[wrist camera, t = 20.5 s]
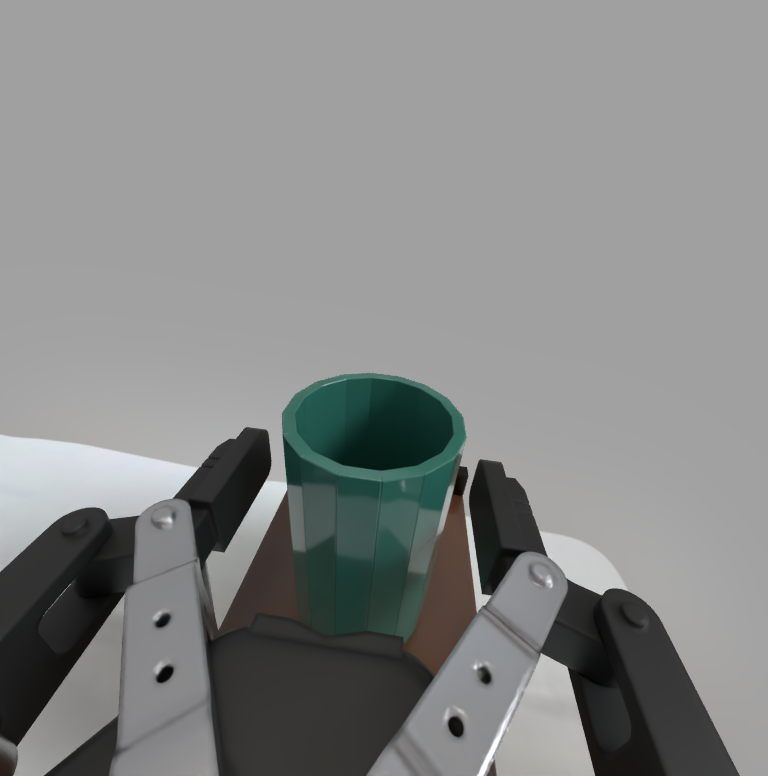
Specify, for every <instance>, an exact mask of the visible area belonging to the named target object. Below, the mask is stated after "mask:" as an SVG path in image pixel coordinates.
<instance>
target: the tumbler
mask: <svg viewBox="0 0 768 776" xmlns="http://www.w3.org/2000/svg"><path fill="white" fill-rule="evenodd" d="M282 427H283V428H282V429H283V444H284V454H285V455H284V456H285V467H286V479H287V490H288V502H289V514H290V525H291V537H292V548H293V560H294V571H295V583H296V595H297V606H298V612H299V616H300V619H301V623H302V624H304V625H306V626H308V627H310V628H312V629H314V630H316V631H318V632H320V633H322V634H324V635H328V636H329V635H338V634H346V633H353V632H361V631H372V632H378V633H384V634H390V635H396V636H402V637H404V644H405V643H406V641H407V640H408V639H409V638H410V636H411V635H412V633H413V632H414V630H415V628H416V626H417V624H418V621H419V618H420V615H421V612H422V609H423V607H424V603H425V599H426V595H427V592H428V588H429V584H430V580H431V576H432V572H433V568H434V564H435V560H436V556H437V552H438V548H439V544H440V540H441V536H442V533H443V529H444V525H445V521H446V517H447V513H448V509H449V505H450V501H451V497H452V493H453V489H454V485H455V481H456V477H457V473H458V470H459V465H460V461H461V458H462V454H463V450H464V446H465V442H466V431H465V425H464V419H463V416H462V415H461V413H460V412H459V411H458V410H457V409H456V407H455V406H454V405H453V404H452V403H451V401H450V400H449V399H448V398H446V397H445V396H443V395H441V394H440V393H438V392H436V391H435V390H433V389H431V388H430V387H428V386H426V385H424V384H421V383H418V382H415V381H411V380H409V379H405V378H402V377H398V376H391V375H383V374H374V373H363V374H345V375H339V376H336V377H332V378H328V379H325V380H321V381H317V382H315V383H313V384H312V385H310V386H309V387H307V388H305V389H303V390H302V391H300V392H298V393H297V394H295V395H294V397H293V398H292V399H291V401H290V402H289V404H288V405H287V407H286V408H285V409H284V411H283V413H282Z"/></svg>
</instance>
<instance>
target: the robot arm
mask: <svg viewBox="0 0 768 776" xmlns="http://www.w3.org/2000/svg"><path fill="white" fill-rule="evenodd" d="M270 469H271V452H270V443H269V435H268V431H267V430H264V429H257V428H249V427H246V428H245V429H244V430H243V431H242V432H241V433H240V435H239V436H238V437H237V438H236V439H229V440H227V441H225V442H224V443H222V444H221V445H219V446H217V447H216V449H215V450H214V451H213V452H212V453H211V454H210V456H209V458H208V459H206V460H205V462H204V463H203V464H202V466H201V467H199V469H198V470H197V471H196V472H195V473H194V474H193V476H192V477H191V478H190V479H189V480H188V481H187V483H186V484H185V485H184V486H183V487H182V488H181V490H180V491H179V492H178V493H177V494H176V495H175V497H174V498H173V499H168V500H164V501H161V502H158V503H156V504H154V505H152V506H151V507H149V508H148V509H146V510H145V511H144V512H143V513H142V514H141V515H140V516H133V517H125V518H117V519H109V518H108V516H107V514H106V512H105V511H104V510H102V509H100V508H92V507H91V508H84V509H80V510H76V511H74V512H71V513H69V514H67V515H65V516H63V517H61V518H60V519H58V520H57V521H55V522H54V523H53V524H52V525H51V526H50V527H49V528H47V529H46V530H45V531H44V532H43V533H42V534H41V535H40V536H39V537H38V538H37V539H36V540H34V541H33V542H32V543H31V544H30V545H29V546H28V547H27V548H26V549H25V550H24V551H23V552H22V553H20V554H19V555H18V556H17V557H16V558H15V559H14V560H13V561H12V562H11V563H10V564H9V565H7V566H6V567H5V568H4V569H3V570H2V571H1V572H0V776H13V774H14V772H15V769H16V766H17V761H18V751H17V748H16V747H17V745H18V744H19V743H20V741H21V740H22V738H23V737H24V736H25V734H26V733H27V731H28V730H29V728H30V727H31V726H32V724H33V723H34V721H35V720H36V719H37V717H38V716H39V714H40V713H41V711H42V710H43V709H44V707H45V706H46V704H47V703H48V702H49V700H50V699H51V697H52V696H53V694H54V693H55V692H56V690H57V689H58V687H59V686H60V685H61V683H62V682H63V680H64V679H65V677H66V676H67V675H68V673H69V672H70V670H71V669H72V668H73V666H74V665H75V663H76V662H77V660H78V659H79V658H80V656H81V655H82V653H83V652H84V651H85V649H86V648H87V646H88V645H89V643H90V642H91V641H92V639H93V638H94V636H95V635H96V634H97V632H98V631H99V629H100V628H101V626H102V625H103V624H104V622H105V621H106V619H107V618H108V617H109V615H110V614H111V612H112V611H113V609H114V608H115V607H116V605H117V604H118V602H119V601H120V600H121V598H122V597H123V595H124V594H125V604H124V622H123V641H122V659H121V678H120V696H119V715H118V716H117V717H116V718H115V719H113V720H112V721H111V722H110V723H108V724H107V725H106V726H105V727H103V728H102V729H101V730H100V731H98V732H97V733H96V734H95V735H94V736H92V737H91V738H90V739H89V740H87V741H86V742H85V743H84V744H82V745H81V746H80V747H79V748H77V749H76V750H75V751H74V752H73V753H71V754H70V755H69V756H68V757H66V758H65V759H64V760H63V761H61V762H60V763H59V764H58V765H57V766H55V767H54V768H53V769H52V770H50V771H49V772H48V773H47V774H45V775H44V776H492V774H491V772H490V770H489V769H490V767H491V765H492V763H493V761H494V758H495V756H496V754H497V752H498V749H499V747H500V745H501V743H502V741H503V738H504V736H505V734H506V732H507V729H508V727H509V725H510V723H511V721H512V718H513V716H514V714H515V712H516V710H517V707H518V705H519V703H520V701H521V698H522V696H523V694H524V692H525V690H526V687H527V685H528V683H529V681H530V678H531V676H532V674H533V672H534V670H535V667H536V665H537V663H538V660H539V658H540V653H542V654H544V655H546V656H548V657H550V658H552V659H554V660H555V661H557V662H559V663H561V664H563V665H565V666H567V667H568V671H569V675H570V679H571V683H572V686H573V690H574V694H575V698H576V702H577V706H578V710H579V714H580V718H581V722H582V726H583V729H584V733H585V737H586V741H587V745H588V749H589V753H590V757H591V761H592V765H593V769H594V773H595V776H740V775H739V773H738V772H737V770H736V768H735V766H734V764H733V762H732V760H731V758H730V756H729V754H728V752H727V750H726V748H725V746H724V744H723V742H722V740H721V738H720V736H719V734H718V732H717V730H716V728H715V726H714V724H713V722H712V721H711V719H710V716H709V714H708V713H707V711H706V709H705V707H704V705H703V703H702V701H701V699H700V697H699V695H698V693H697V691H696V689H695V687H694V685H693V683H692V681H691V679H690V677H689V675H688V673H687V671H686V669H685V667H684V665H683V663H682V661H681V659H680V658H679V655H678V653H677V652H676V650H675V648H674V646H673V644H672V642H671V640H670V638H669V636H668V634H667V632H666V630H665V628H664V626H663V624H662V622H661V620H660V619H659V617H658V616H657V614H656V613H655V612H654V610H653V609H652V608H651V607H650V606H649V605H647V603H646V602H644V601H643V600H642V599H640V598H639V597H637V596H636V595H634V594H632V593H630V592H628V591H626V590H622V589H616V588H615V589H609V590H607V591H605V593H604V594H603V595H599V594H597V593H595V592H593V591H590V590H588V589H586V588H584V587H581V586H579V585H577V584H575V583H573V582H571V581H570V580H568V579H567V578H566V577H565V575H564V573H563V571H562V570H561V569H560V567H559V566H558V565H557V564H556V563H555V562H554V561H552V560H551V559H550V558H548V556H547V554H546V551H545V548H544V545H543V542H542V539H541V536H540V533H539V530H538V527H537V525H536V522H535V519H534V516H533V515H532V510H531V507H530V505H529V501H528V498H527V495H526V493H525V490H524V489H523V488H522V486H521V485H520V484H519V483H518V481H517V480H516V479H515V478H507V477H506V475H505V471H504V468H503V465H502V463H501V462H496V461H488V460H479V462H478V465H477V469H476V472H475V475H474V479H473V482H472V486H471V490H470V495H469V507H470V514H471V521H472V528H473V535H474V542H475V549H476V556H477V563H478V570H479V576H480V583H481V590H482V594H485V595H492V596H491V598H490V599H489V601H488V602H487V604H486V605H485V606H484V605H483V606H482V607H481V609H480V610H479V611H478V613H477V614H476V616H475V617H474V619H473V620H472V622H471V623H470V625H469V626H468V628H467V629H466V631H465V632H464V634H463V635H462V637H461V638H460V640H459V641H458V643H457V644H456V646H455V647H454V649H453V650H452V652H451V653H450V655H449V656H448V658H447V659H446V661H445V662H444V664H443V665H442V667H441V668H440V670H439V671H438V673H437V674H436V676H435V675H434V673H433V672H432V671H431V670H430V669H429V668H428V667H427V665H425V664H424V663H423V662H422V661H421V660H420V659H419V658H417V657H416V656H414V655H413V654H411V653H410V652H408V651H406V650H404V649H403V645H404V637H402V636H396V635H390V634H384V633H378V632H372V631H361V632H353V633H346V634H338V635H329V636H328V635H324V634H322V633H320V632H318V631H316V630H314V629H312V628H310V627H308V626H306V625H304V624H302V623H300V622H298V621H296V620H294V619H292V618H287V617H281V616H275V615H269V614H263V613H257V612H256V614H255V617H254V619H253V622H252V624H251V625H246V626H242V627H238V628H235V629H233V630H230V631H228V632H226V633H224V634H222V635H220V636H219V632H218V628H217V624H216V619H215V614H214V607H213V601H212V594H211V588H210V581H209V575H208V568H207V563H206V559H207V558H208V556H209V554H210V553H211V551H212V550H213V551H219V552H225V550H226V548H227V547H228V545H229V543H230V541H231V540H232V538H233V536H234V534H235V533H236V531H237V529H238V527H239V526H240V524H241V522H242V521H243V519H244V517H245V515H246V514H247V512H248V510H249V508H250V507H251V505H252V503H253V501H254V500H255V498H256V496H257V494H258V493H259V491H260V489H261V488H262V486H263V484H264V482H265V481H266V479H267V477H268V475H269V472H270ZM69 584H71V585H70V586H69ZM68 586H69V587H68ZM67 587H68V588H67ZM66 588H67V589H66ZM65 589H66V590H65ZM64 590H65V592H64V593H63V591H64ZM62 593H63V594H62ZM61 594H62V595H61ZM60 595H61V596H60ZM59 596H60V597H59ZM58 597H59V599H58V600H57V601H56V599H57V598H58ZM55 601H56V602H55ZM54 602H55V603H54ZM53 603H54V604H53ZM52 604H53V606H52V607H51V608H50V606H51V605H52ZM49 608H50V609H49ZM48 609H49V610H48ZM47 610H48V611H47ZM46 611H47V612H46ZM45 612H46V614H45ZM44 614H45V615H44ZM43 615H44V616H43Z"/></svg>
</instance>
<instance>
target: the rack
mask: <svg viewBox="0 0 768 776" xmlns="http://www.w3.org/2000/svg"><path fill="white" fill-rule="evenodd" d="M467 479H468V470H467V467H461V466H459V470H458V473H457V477H456V481H455V485H454V489H453V493H452V497H451V501H450V505H449V509H448V513H447V517H446V521H445V525H444V529H443V533H442V536H441V540H440V544H439V548H438V552H437V556H436V560H435V564H434V568H433V572H432V576H431V580H430V584H429V588H428V592H427V595H426V599H425V603H424V607H423V609H422V612H421V615H420V618H419V621H418V624H417V626H416V628H415V630H414V632H413V633H412V635H411V636H410V638H409V639H408V640H407V641H406V643H405V644H404V645H403V649H404V650H406V651H408V652H410V653H411V654H413V655H414V656H416V657H417V658H419V659H420V660H421V661H422V662H423V663H424V664H425V665H427V667H428V668H429V669H430V670H431V671H432V672H433V673H434V675H435V676H436V674H437V673H438V671H439V670H440V668H441V667H442V665H443V664H444V662H445V661H446V659H447V658H448V656H449V655H450V653H451V652H452V650H453V649H454V647H455V646H456V644H457V643H458V641H459V640H460V638H461V637H462V635H463V634H464V632H465V631H466V629H467V628H468V626H469V625H470V623H471V622H472V620H473V619H474V617H475V616H476V614H477V611H476V602H475V594H474V586H473V578H472V569H471V561H470V553H469V545H468V536H467V528H466V520H465V513H464V503H463V494H464V490H465V486H466V483H467ZM256 612H257V613H263V614H269V615H275V616H281V617H287V618H292V619H294V620H296V621H298V622H300V623H301V619H300V616H299V612H298V606H297V595H296V583H295V571H294V560H293V548H292V537H291V525H290V514H289V502H288V490H287V491H286V493H285V495H284V498H283V500H282V502H281V504H280V506H279V508H278V510H277V512H276V514H275V516H274V518H273V520H272V522H271V524H270V526H269V528H268V530H267V532H266V534H265V537H264V539H263V541H262V543H261V545H260V547H259V549H258V551H257V553H256V555H255V557H254V559H253V561H252V563H251V565H250V567H249V569H248V571H247V573H246V576H245V578H244V580H243V582H242V584H241V586H240V588H239V590H238V592H237V594H236V596H235V598H234V600H233V602H232V604H231V606H230V608H229V610H228V612H227V615H226V617H225V619H224V621H223V623H222V625H221V627H220V629H219V631H218V632H219V636H220V635H222V634H224V633H226V632H228V631H230V630H233V629H235V628H238V627H242V626H246V625H251V624H252V622H253V619H254V617H255V614H256ZM489 770H490V772H491V774H492V776H496V768H495V760H494V761H493V763H492V765H491V767H490V769H489Z"/></svg>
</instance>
